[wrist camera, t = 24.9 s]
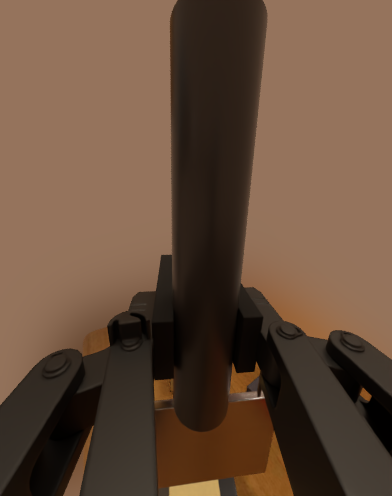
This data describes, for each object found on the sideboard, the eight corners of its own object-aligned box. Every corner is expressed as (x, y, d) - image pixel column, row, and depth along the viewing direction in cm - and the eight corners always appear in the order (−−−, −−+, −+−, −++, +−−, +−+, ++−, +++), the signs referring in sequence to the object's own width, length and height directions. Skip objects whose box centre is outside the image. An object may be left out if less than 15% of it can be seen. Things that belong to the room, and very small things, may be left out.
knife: (117, 528, 9) (23, -57, 4) (129, 457, 12) (84, 43, 6) (275, 501, 10) (395, 4, 5) (255, 441, 13) (317, 68, 7)
